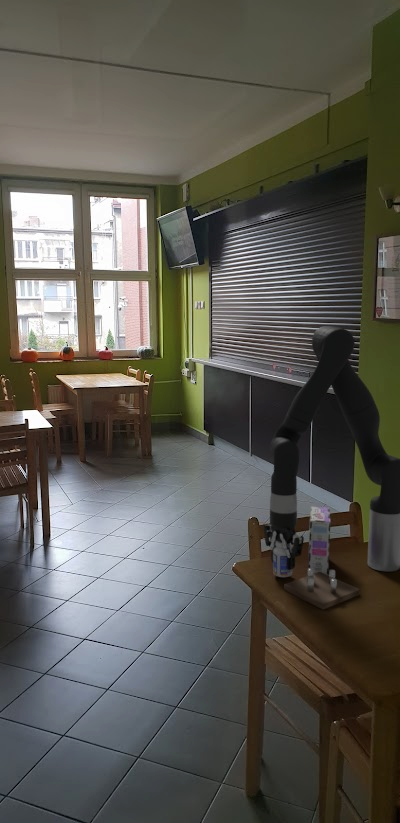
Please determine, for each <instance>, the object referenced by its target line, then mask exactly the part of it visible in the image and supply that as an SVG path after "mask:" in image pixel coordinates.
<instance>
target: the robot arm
mask: <svg viewBox="0 0 400 823" xmlns="http://www.w3.org/2000/svg"><path fill="white" fill-rule="evenodd" d="M311 346H312V348H311V349H312V351H313V353H314V355H315V357H316V359H317V360H318V363H317V365H316V368H315V369H314V371H313V373H312V374H311V375H310V377H309V379H308V380H307V381H306V382H305V383H304V384H303V386H302V387H301V388H300V390H299V391H298V392H297V394H296V395H295V396H294V398H293V400H292V402H291V404H290V405H289V406H290V407H289V408H288V411H287V413H286V415H285V418H284V420H283V421H282V423H281V424H280V426H279V427H278V429H277V430H276V432H275V433H274V436H273V437H272V439H271V442H270V445H269V452H270V454H271V456H272V457H273V472H272V473H271V478H270V498H269V523H268V524H265V525H263V533H264V534H263V535H264V541H265V546H266V547H269V549H270V550H271V552H270V559H271V563H273V550H274V548H275V547H276V540H277V541H279V542H281V543H283V547H284V549H285V550H286V553H287V569H288V570H291V569H292V570H294V568H295V567H296V557H300V556H301V555H302V552H303V545H304V541H305V540H304V539H305V538H304V536H303V535H300V536H299V535H298V534H297V532H296V526H297V524H298V496H297V487H298V486H297V485H298V484H297V483H298V482H297V481H298V480H297V479H298V478H297V477H298V476H297V475H298V470H299V464H300V449H299V446H298V443H299V441H300V439H301V437H302V435H303V434H306V433H307V431H308V430H309V429H310V427H311V425H312V422H313V420H314V418H315V416H316V414H317V412H318V409H319V407H320V405H321V404H322V401H323V400H324V398H325V396H326V395H327V393H328V391H329V389H330V388H332V390H333V393H334V395H335V397H336V399H337V403H338V405H339V408H340V409H341V413H342V415H343V417H344V420H345V422H346V423H347V424H346V425H347V426H348V428H349V430H350V432H351V435H352V437H353V440H354V442H355V444H356V446H357V448H358V452H359V455H360V457H361V461H362V464H363V467H364V468H363V469H364V471H365V473H366V477H368V479H369V480H370V481H371V482H372V483H373V484H375V485H377V486H380V491H379V496H374V497H372V498H371V499H370V501H369V518H368V520H369V523H368V539H367V540H368V543H367V544H368V545H367V562H366V564H367V566H368V567H370V568H371V569H373V570H376V571H379V572H396V571H398V570H400V458H399V457H396V456H392V455H389V454H388V453H387V451H386V450H385V449H384V446H383V444H382V442H381V440H380V435H379V430H380V422H381V421H380V420H381V418H380V412H379V409H378V406H377V404H376V402H375V399H374V397H373V395H372V393H371V391H370V390H369V388H368V387H367V386H366V384H365V382H364V381H363V380H362V379H361V377H359V375H358V374H357V372H356V371H355V370H354V368H353V367H352V365H351V362H350V361H349V359H350V357H351V355H352V353H353V352H354V349H355V338H354V336H353V334H352V333H351V332H350V331H349V330H347V329H346V328H342V327H338V326H332V325H324V326H321V327H319V328H317V329H316V330H315V331H314V333H313V334H312V338H311ZM289 543H290V545H289V546H288V545H287V544H289ZM290 548H291V551H292V552H290Z"/></svg>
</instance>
